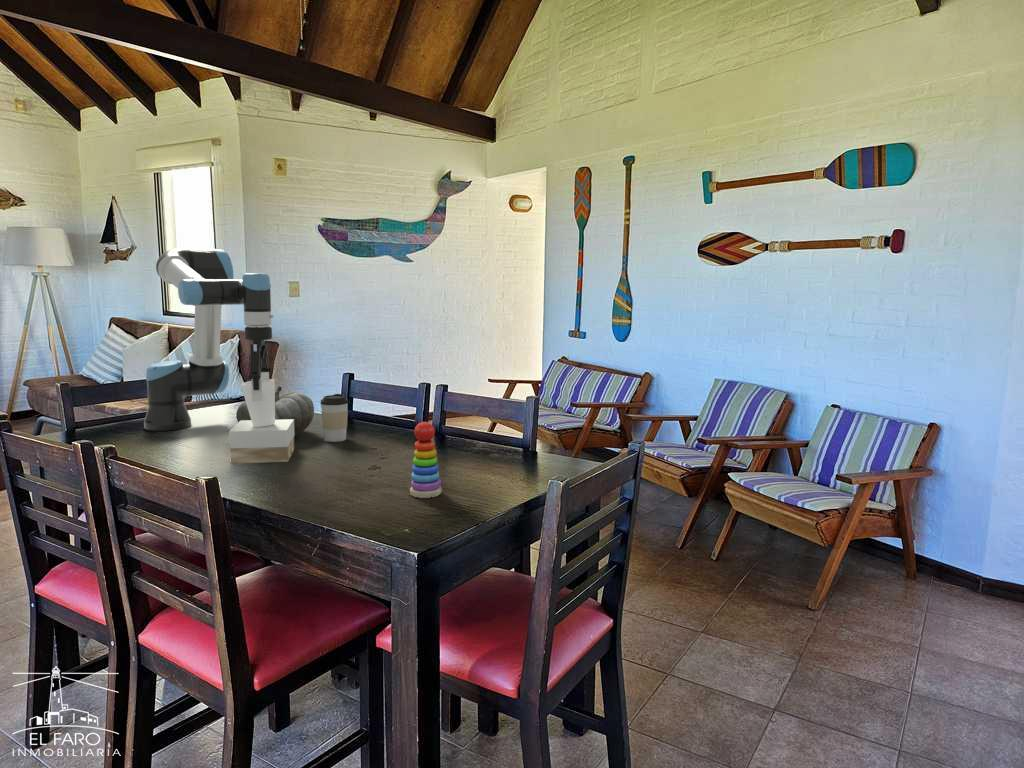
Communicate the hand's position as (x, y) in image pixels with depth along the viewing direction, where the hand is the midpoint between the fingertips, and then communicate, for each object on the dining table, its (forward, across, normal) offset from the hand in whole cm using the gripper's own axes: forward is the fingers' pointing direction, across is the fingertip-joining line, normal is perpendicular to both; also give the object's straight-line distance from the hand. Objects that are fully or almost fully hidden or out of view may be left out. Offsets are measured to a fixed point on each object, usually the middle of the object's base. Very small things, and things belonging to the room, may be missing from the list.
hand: (261, 396), depth 206 cm
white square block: (+14, 0, 0) cm, 14 cm away
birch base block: (+19, 0, 0) cm, 19 cm away
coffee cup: (+18, +19, -20) cm, 33 cm away
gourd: (+18, +27, 0) cm, 33 cm away
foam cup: (+8, 0, -1) cm, 9 cm away
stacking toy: (+18, -45, -46) cm, 67 cm away
